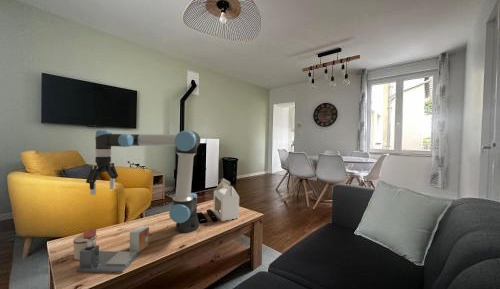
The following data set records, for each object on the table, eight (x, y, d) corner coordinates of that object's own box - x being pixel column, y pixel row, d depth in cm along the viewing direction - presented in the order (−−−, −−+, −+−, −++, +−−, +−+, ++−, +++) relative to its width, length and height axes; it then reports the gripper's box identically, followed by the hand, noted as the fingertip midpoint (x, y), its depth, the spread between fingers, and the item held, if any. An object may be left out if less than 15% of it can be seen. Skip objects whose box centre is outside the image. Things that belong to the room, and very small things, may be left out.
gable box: (213, 211, 169) (214, 177, 168) (228, 209, 175) (229, 176, 174) (222, 221, 149) (223, 183, 148) (238, 218, 155) (239, 182, 154)
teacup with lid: (94, 257, 101) (94, 234, 101) (70, 262, 97) (70, 238, 96) (98, 246, 111) (99, 224, 111) (77, 249, 107) (77, 227, 107)
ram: (98, 250, 96) (98, 229, 96) (90, 256, 92) (91, 233, 91) (88, 250, 96) (88, 228, 96) (80, 256, 92) (80, 233, 91)
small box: (138, 253, 106) (138, 233, 106) (129, 251, 107) (129, 231, 107) (149, 245, 114) (149, 226, 113) (140, 244, 115) (140, 225, 115)
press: (139, 254, 104) (139, 238, 104) (122, 272, 90) (122, 254, 90) (99, 253, 104) (99, 237, 104) (76, 271, 90) (76, 252, 90)
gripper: (114, 154, 134) (113, 186, 134) (77, 157, 109) (77, 197, 110) (124, 154, 133) (124, 187, 134) (90, 158, 108) (90, 198, 109)
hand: (103, 191), depth 122 cm, fingers open, 13 cm apart
